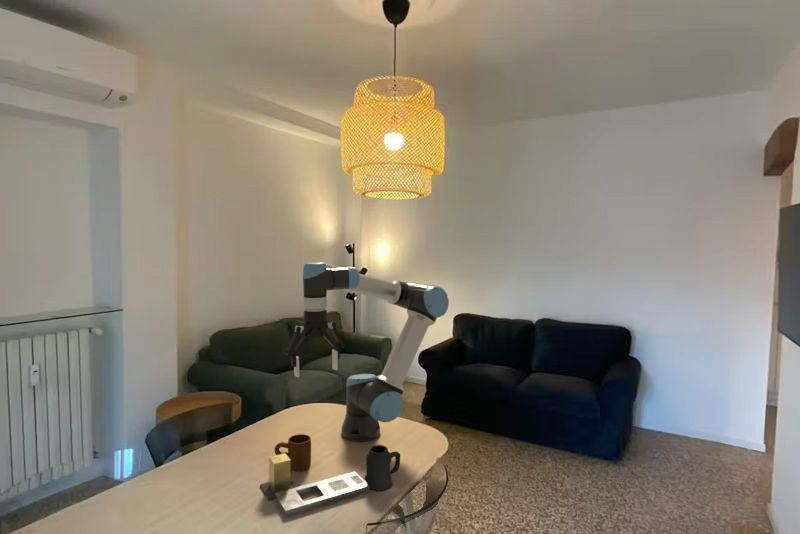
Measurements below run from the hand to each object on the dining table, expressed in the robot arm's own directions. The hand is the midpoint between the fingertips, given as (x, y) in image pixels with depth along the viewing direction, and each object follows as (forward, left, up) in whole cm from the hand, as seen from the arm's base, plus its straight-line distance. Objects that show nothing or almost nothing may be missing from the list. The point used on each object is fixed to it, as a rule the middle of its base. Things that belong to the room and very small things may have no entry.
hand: (316, 372), depth 155 cm
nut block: (+15, +9, -31) cm, 35 cm away
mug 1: (+7, -2, -32) cm, 33 cm away
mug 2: (-14, +21, -32) cm, 41 cm away
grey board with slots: (+5, +19, -32) cm, 37 cm away
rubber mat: (+15, +9, -32) cm, 36 cm away
